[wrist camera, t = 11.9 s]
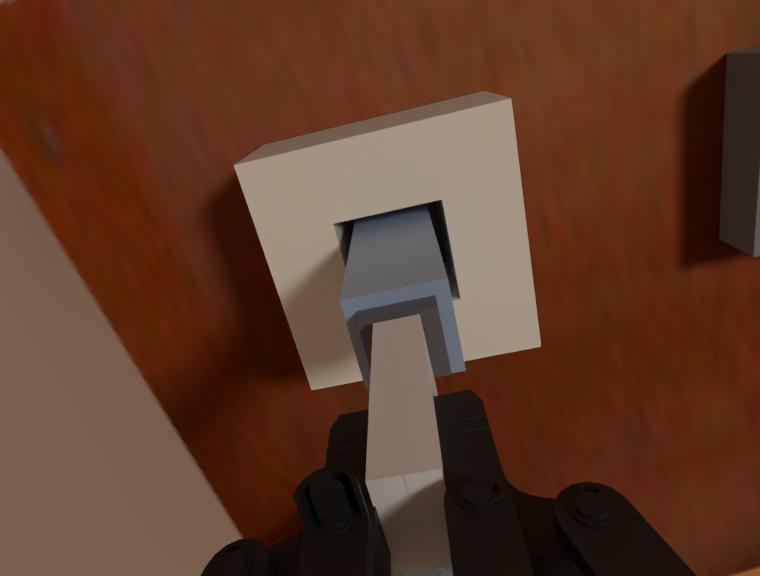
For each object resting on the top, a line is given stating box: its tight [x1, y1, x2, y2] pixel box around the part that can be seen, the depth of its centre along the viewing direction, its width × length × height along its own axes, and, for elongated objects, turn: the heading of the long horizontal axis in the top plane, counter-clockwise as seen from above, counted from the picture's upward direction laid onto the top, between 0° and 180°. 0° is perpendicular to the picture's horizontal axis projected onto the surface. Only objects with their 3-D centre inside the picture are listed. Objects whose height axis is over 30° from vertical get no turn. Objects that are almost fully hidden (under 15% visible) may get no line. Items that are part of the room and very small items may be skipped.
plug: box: [340, 203, 466, 389], centre depth 22 cm, size 4×4×13 cm
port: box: [234, 91, 541, 390], centre depth 26 cm, size 12×12×6 cm
